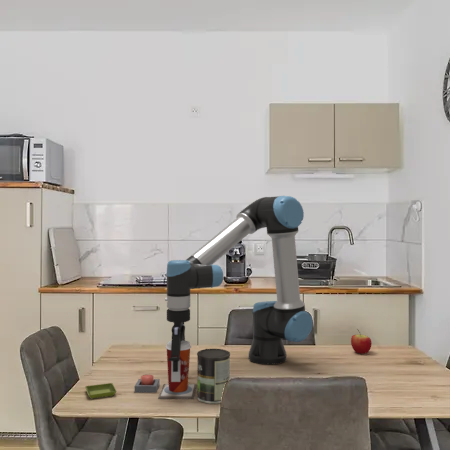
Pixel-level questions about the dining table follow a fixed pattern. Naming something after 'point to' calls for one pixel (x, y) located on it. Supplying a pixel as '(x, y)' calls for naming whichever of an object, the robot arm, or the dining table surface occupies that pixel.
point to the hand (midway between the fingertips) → (178, 374)
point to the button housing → (147, 386)
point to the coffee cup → (184, 367)
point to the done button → (147, 380)
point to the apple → (361, 343)
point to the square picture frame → (177, 393)
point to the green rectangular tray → (101, 390)
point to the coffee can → (212, 374)
